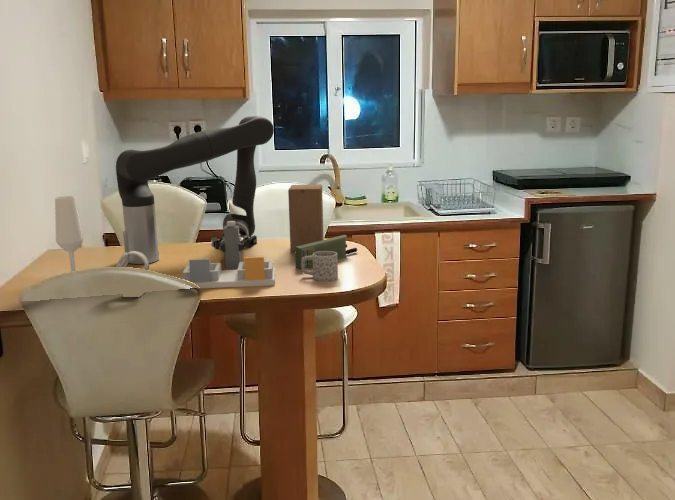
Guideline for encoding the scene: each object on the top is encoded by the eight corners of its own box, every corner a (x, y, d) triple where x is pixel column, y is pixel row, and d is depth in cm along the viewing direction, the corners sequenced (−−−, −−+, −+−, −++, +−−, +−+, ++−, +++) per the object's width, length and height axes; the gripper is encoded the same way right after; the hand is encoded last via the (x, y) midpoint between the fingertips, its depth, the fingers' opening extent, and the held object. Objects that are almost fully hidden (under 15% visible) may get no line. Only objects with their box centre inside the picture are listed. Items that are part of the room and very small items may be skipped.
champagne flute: (76, 292, 172) (66, 199, 167) (55, 290, 175) (44, 198, 169) (94, 285, 178) (84, 195, 173) (74, 283, 181) (64, 195, 175)
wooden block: (322, 252, 211) (320, 188, 206) (290, 252, 211) (288, 189, 207) (323, 245, 221) (322, 184, 216) (293, 245, 221) (291, 184, 216)
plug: (226, 269, 192) (223, 223, 189) (227, 266, 196) (224, 220, 193) (240, 269, 192) (237, 222, 189) (241, 265, 196) (238, 220, 193)
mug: (340, 275, 184) (339, 251, 183) (334, 281, 178) (334, 257, 176) (305, 273, 186) (304, 250, 185) (298, 280, 180) (297, 255, 179)
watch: (123, 291, 173) (119, 249, 170) (154, 291, 172) (150, 249, 170) (115, 297, 168) (110, 254, 165) (146, 297, 167) (142, 254, 164)
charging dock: (181, 289, 174) (178, 260, 172) (187, 276, 185) (185, 250, 184) (274, 285, 175) (273, 257, 174) (275, 273, 187) (274, 246, 185)
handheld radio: (293, 268, 193) (351, 252, 210) (301, 271, 190) (359, 254, 208) (293, 246, 191) (352, 231, 209) (301, 248, 189) (360, 233, 206)
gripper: (211, 224, 205) (205, 235, 188) (258, 222, 206) (256, 233, 189) (213, 248, 207) (207, 261, 190) (259, 246, 208) (257, 259, 191)
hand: (231, 247), depth 190 cm, fingers closed on plug, 4 cm apart
